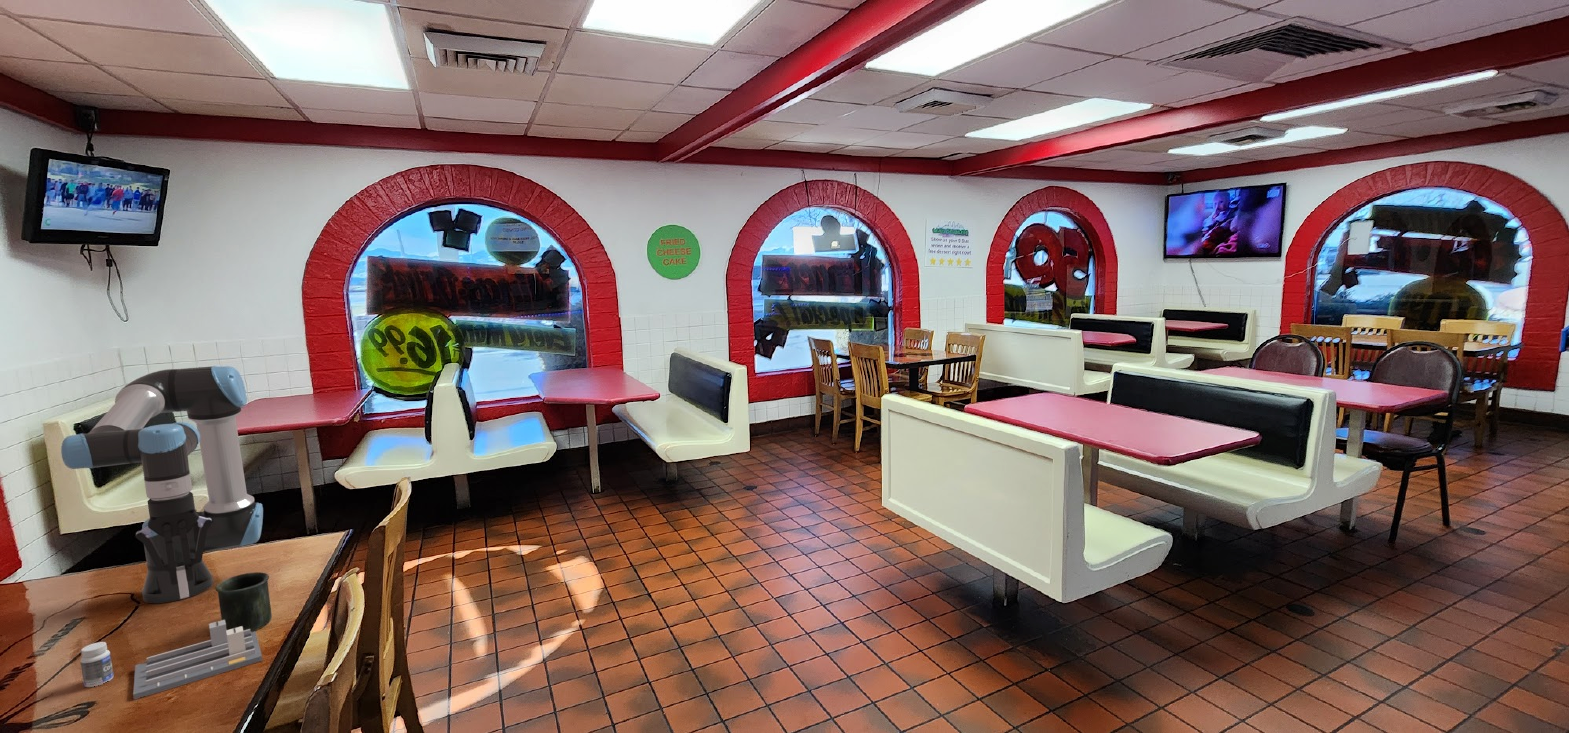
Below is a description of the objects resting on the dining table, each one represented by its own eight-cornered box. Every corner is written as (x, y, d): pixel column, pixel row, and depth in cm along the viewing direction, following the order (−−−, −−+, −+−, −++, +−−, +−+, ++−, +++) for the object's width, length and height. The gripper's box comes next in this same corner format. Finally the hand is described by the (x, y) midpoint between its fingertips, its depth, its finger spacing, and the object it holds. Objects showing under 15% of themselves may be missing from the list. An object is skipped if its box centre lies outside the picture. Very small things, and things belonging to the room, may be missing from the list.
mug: (221, 641, 170) (215, 595, 168) (220, 619, 181) (214, 575, 179) (275, 626, 177) (270, 582, 175) (271, 606, 188) (266, 564, 186)
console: (136, 669, 158) (131, 642, 157) (256, 635, 172) (252, 610, 171) (133, 699, 147) (129, 670, 146) (262, 660, 161) (259, 633, 160)
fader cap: (228, 652, 162) (226, 630, 161) (245, 647, 164) (242, 625, 163) (229, 657, 160) (226, 635, 159) (246, 652, 162) (243, 630, 161)
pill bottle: (110, 683, 153) (105, 648, 152) (81, 690, 150) (75, 654, 149) (116, 672, 157) (111, 638, 156) (87, 679, 154) (82, 644, 153)
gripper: (128, 506, 144) (145, 611, 148) (209, 492, 153) (222, 592, 156) (130, 497, 150) (145, 599, 153) (207, 484, 158) (220, 581, 162)
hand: (184, 595), depth 155 cm, fingers closed
